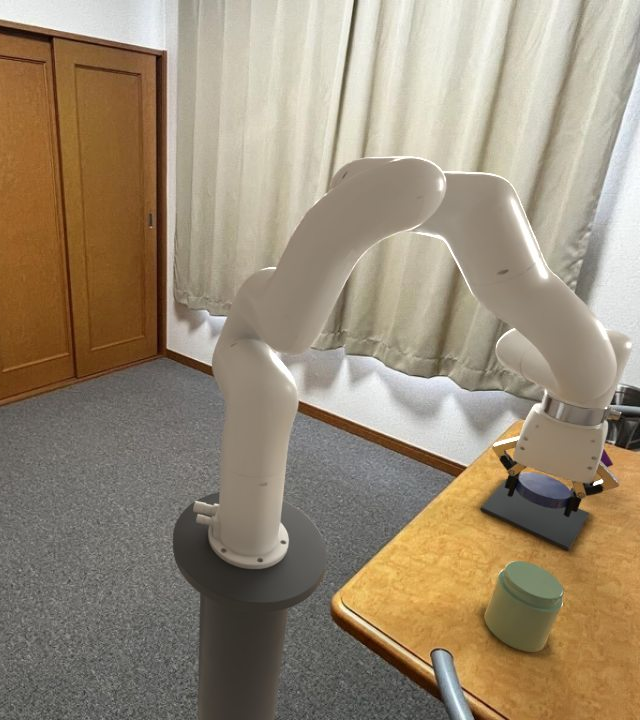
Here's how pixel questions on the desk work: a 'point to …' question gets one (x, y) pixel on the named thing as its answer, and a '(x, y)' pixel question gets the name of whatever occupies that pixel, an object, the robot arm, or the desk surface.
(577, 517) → the plate
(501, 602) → the jar
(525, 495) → the lid
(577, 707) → the desk surface
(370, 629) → the desk surface
